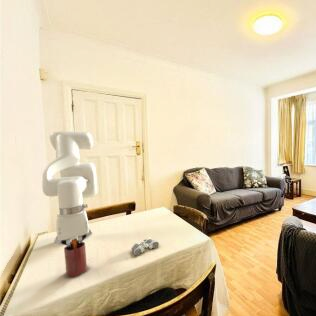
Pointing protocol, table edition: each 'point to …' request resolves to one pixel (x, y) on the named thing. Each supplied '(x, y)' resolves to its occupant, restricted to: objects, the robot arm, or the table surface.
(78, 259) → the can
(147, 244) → the binoculars
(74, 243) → the solid orange cylinder
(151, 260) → the table surface
